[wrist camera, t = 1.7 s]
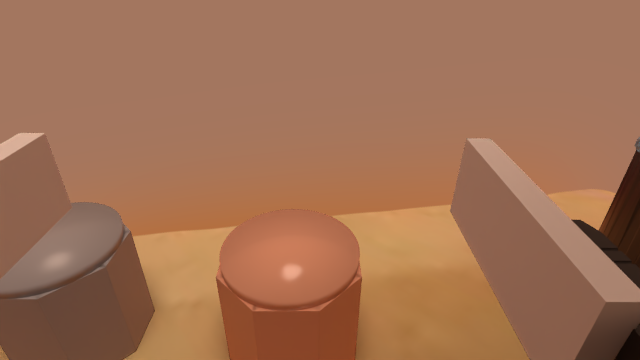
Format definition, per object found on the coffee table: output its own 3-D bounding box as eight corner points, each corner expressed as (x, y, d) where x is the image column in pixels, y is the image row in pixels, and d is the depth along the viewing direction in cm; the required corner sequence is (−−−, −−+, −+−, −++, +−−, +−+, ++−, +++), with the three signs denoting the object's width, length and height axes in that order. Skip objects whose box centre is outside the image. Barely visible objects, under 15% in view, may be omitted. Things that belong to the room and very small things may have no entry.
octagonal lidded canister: (348, 294, 37) (353, 209, 32) (358, 397, 28) (367, 302, 23) (244, 294, 37) (233, 208, 32) (222, 397, 28) (202, 302, 23)
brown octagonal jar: (165, 286, 38) (142, 202, 32) (120, 385, 29) (79, 290, 24) (63, 286, 37) (24, 202, 32) (-14, 385, 29) (-83, 290, 24)
